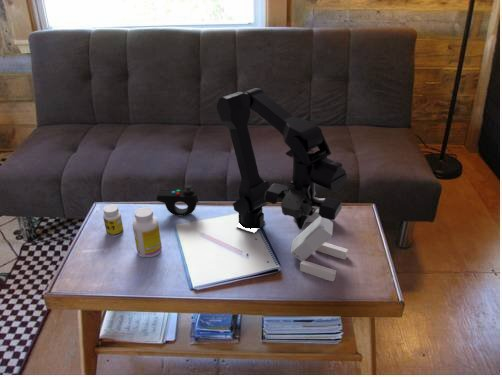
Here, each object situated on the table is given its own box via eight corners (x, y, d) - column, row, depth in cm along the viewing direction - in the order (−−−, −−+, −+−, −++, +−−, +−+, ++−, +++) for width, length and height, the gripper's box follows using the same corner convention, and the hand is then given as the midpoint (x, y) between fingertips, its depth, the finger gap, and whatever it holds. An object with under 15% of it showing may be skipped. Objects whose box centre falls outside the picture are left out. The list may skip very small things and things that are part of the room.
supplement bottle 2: (166, 246, 128) (161, 208, 122) (152, 261, 123) (146, 221, 117) (146, 240, 131) (140, 202, 124) (132, 254, 126) (125, 215, 119)
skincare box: (302, 262, 123) (332, 236, 116) (289, 253, 122) (319, 226, 116) (304, 248, 128) (333, 222, 121) (292, 239, 127) (321, 213, 121)
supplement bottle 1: (103, 235, 133) (98, 210, 129) (113, 225, 137) (108, 202, 132) (117, 238, 132) (112, 214, 127) (127, 229, 135) (122, 205, 131)
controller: (198, 218, 140) (196, 190, 135) (157, 218, 140) (154, 190, 135) (200, 210, 144) (198, 182, 138) (160, 210, 144) (156, 182, 138)
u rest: (299, 270, 120) (300, 263, 119) (315, 246, 128) (316, 239, 127) (333, 281, 116) (334, 274, 115) (347, 256, 125) (348, 249, 123)
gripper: (254, 181, 110) (254, 234, 118) (329, 201, 102) (324, 256, 110) (274, 162, 118) (273, 212, 126) (345, 178, 111) (339, 231, 119)
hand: (300, 228), depth 120 cm, fingers closed
